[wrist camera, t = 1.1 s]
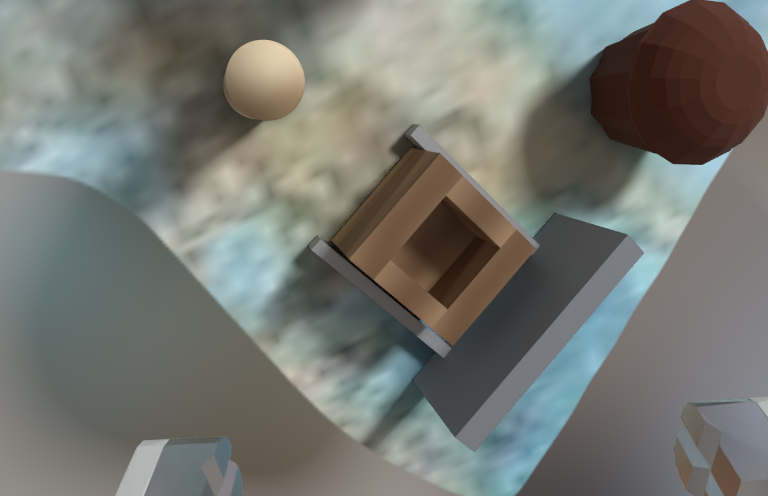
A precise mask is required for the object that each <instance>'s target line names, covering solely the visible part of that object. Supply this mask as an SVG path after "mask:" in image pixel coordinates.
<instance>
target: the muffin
mask: <svg viewBox="0 0 768 496" xmlns="http://www.w3.org/2000/svg"><path fill="white" fill-rule="evenodd" d="M590 86H591V94H592V108H591V115H592V116H593V117H594V118H595V119H596V120H597V121H598V122H599V123H600V124H601V125H602V127H603V129H604V130H605V132H606V133H607V135H608V137H609V138H610V139H612V140H615V141H618V142H621V143H624V144H627V145H630V146H633V147H637V148H640V149H643V150H646V151H649V152H652V153H656V154H658V155H660V156H662V157H663V158H665V159H666V160H668V161H669V162H671V163H672V164H690V165H703V164H705V163H707V162H709V161H711V160H713V159H715V158H717V157H719V156H721V155H723V154H724V153H726V152H728V151H730V150H731V149H732V148H734V147H735V146H737V145H739V144H740V143H742V142H743V140H744V139H745V138H746V137H747V136H748V135H749V134H750V132H751V131H752V130H753V129H754V127H755V126H756V125H757V124H758V123H759V121H760V120H761V119H762V118H763V116H764V114H765V111H766V108H767V105H768V51H767V49H766V47H765V44H764V42H763V40H762V38H761V36H760V34H759V33H758V32H757V31H756V30H755V29H754V28H753V27H752V26H750V25H749V23H748V22H747V21H746V20H745V19H743V18H742V17H741V16H740V15H738V14H737V13H736V12H735V11H734V10H732V9H731V8H730V7H729V6H728V5H726V4H725V3H723V2H715V1H707V0H690V1H687V2H685V3H683V4H681V5H679V6H676V7H674V8H672V9H670V10H668V11H665V12H663V13H662V14H661V16H660V17H659V18H658V19H657V20H656V22H655V23H653V24H650V25H648V26H646V27H643V28H641V29H639V30H637V31H634V32H633V33H631V34H630V35H628V36H627V37H625V38H624V39H623V40H621V41H619V42H617V43H614V44H612V45H609V46H607V47H606V48H605V51H604V53H603V55H602V58H601V60H600V63H599V65H598V66H597V68H596V69H595V71H594V73H593V74H592V76H591V77H590Z"/></svg>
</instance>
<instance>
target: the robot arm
mask: <svg viewBox="0 0 768 496" xmlns="http://www.w3.org/2000/svg"><path fill="white" fill-rule="evenodd" d="M681 419H682V421H683V423H684V425H685V427H686V428H685V429H684V430H683V431H681V432H680V433H679V434H678V435H677V437H676V443H675V448H674V451H675V460H676V466H677V469H678V472H679V475H680V478H681V480H682V482H683V484H684V486H685V488H686V490H687V491H688V492H689V493H691V494H692V495H694V496H768V397H758V398H748V399H745V398H740V399H728V400H716V401H705V402H692V403H687V404H686V406H685V407H684V408H683V411H682V415H681ZM231 452H232V448H231V445H230V443H229V441H228V438H227V437H201V438H179V439H164V440H144V441H143V442H142V443H141V444H140V445H139V446H138V447H137V448H136V450H135V452H134V454H133V457H132V459H131V461H130V463H129V465H128V467H127V470H126V472H125V474H124V477H123V479H122V481H121V483H120V485H119V487H118V490H117V492H116V494H115V496H242V491H243V484H242V477H241V473H240V470H239V467H238V465H237V464H235V463H234V462H232V461H231V460H229V459H230V455H231Z"/></svg>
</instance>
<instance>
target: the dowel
mask: <svg viewBox="0 0 768 496" xmlns="http://www.w3.org/2000/svg"><path fill="white" fill-rule="evenodd" d="M304 86H305V78H304V72H303V69H302V66H301V64H300V62H299V61H298V59H297V57H296V56H295V55H294V54H293V53H292V52H291V51H290V50H289V49H288V48H287V47H285V46H283V45H282V44H280V43H277V42H274V41H271V40H255V41H251V42H249V43H246V44H245V45H243V46H241V47H240V48H239V49H238V50H237V51H236V52H235V53H234V54H233V55H232V57H231V59H230V61H229V63H228V66H227V69H226V73H225V76H224V80H223V92H224V96H225V99H226V101H227V103H228V104H229V106H230V107H231V108H232V109H233V110H234V111H235V112H237V113H238V114H240V115H242V116H244V117H247V118H252V119H258V120H265V121H269V120H277V119H280V118H282V117H285V116H286V115H288V114H289V113H291V112H292V111H293V110H294V109H295V108H296V107H297V105H298V104H299V102H300V100H301V98H302V96H303V92H304Z"/></svg>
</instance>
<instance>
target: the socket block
mask: <svg viewBox="0 0 768 496" xmlns="http://www.w3.org/2000/svg"><path fill="white" fill-rule="evenodd" d="M332 241H333V243H334V244H335V245H336V246H337V247H338V248H339V249H340V250H341V251H342V252H343V253H344V255H345V256H346V257H347V258H348V259H349V260H350V261H352V262H353V263H354V264H355V265H356V266H357V267H359V268H360V269H361V270H362V271H363V272H365V273H366V274H367V275H368V276H369V277H371V278H372V279H373V280H374V281H375V282H377V283H378V284H379V285H380V286H381V287H383V288H384V289H385V290H386V291H387V292H389V293H390V294H391V295H392V296H393V297H395V298H396V299H397V300H398V301H399V302H401V303H402V304H403V305H404V306H405V307H407V308H408V309H409V310H410V311H411V312H413V313H414V314H415V315H416V316H417V317H419V318H420V319H421V320H422V321H423V322H425V323H426V324H427V325H428V326H429V327H431V328H432V329H433V330H434V331H435V332H437V333H438V334H439V335H440V336H441V337H443V338H444V339H445V340H446V341H447V342H449V343H450V344H451V345H452V346H453V345H454V344H455V343H456V342H457V341H458V340H459V338H460V337H461V336H462V335H463V334H464V333H465V331H466V330H467V329H468V328H469V327H470V326H471V324H472V323H473V322H474V321H475V320H476V318H477V317H478V316H479V315H480V314H481V313H482V311H483V310H484V309H485V308H486V307H487V306H488V304H489V303H490V302H491V301H492V300H493V299H494V297H495V296H496V295H497V294H498V293H499V292H500V290H501V289H502V288H503V287H504V286H505V285H506V283H507V282H508V281H509V280H510V279H511V278H512V276H513V275H514V274H515V273H516V272H517V271H518V269H519V268H520V267H521V266H522V265H523V264H524V262H525V261H526V260H527V259H528V258H529V257H530V255H531V254H532V253H533V252H534V251H535V250H536V248H535V247H534V246H533V245H532V244H531V243H530V242H529V241H528V240H527V239H526V238H525V237H524V236H523V235H522V234H521V233H520V232H519V231H518V230H517V229H516V228H515V227H514V226H513V225H512V224H511V223H510V222H509V221H508V220H507V219H506V218H505V217H504V216H503V215H502V214H501V213H500V212H499V211H498V210H497V209H496V208H495V207H494V206H493V205H492V204H491V203H490V202H489V201H488V200H487V199H486V198H485V197H484V196H483V195H482V194H481V193H480V192H479V191H478V190H477V189H476V188H475V187H474V186H473V185H472V184H471V183H470V182H469V181H468V180H467V179H466V178H465V177H464V176H463V175H462V174H461V173H460V172H459V171H458V170H457V169H456V168H455V167H454V166H453V165H452V164H451V163H450V162H449V161H448V160H447V159H446V158H445V157H444V156H443V155H442V154H441V153H437V152H431V151H425V150H420V149H414V148H410V149H409V151H408V152H407V153H406V154H405V155H404V156H403V158H402V159H401V160H400V161H399V162H398V163H397V165H396V166H395V167H394V168H393V169H392V170H391V171H390V173H389V174H388V175H387V176H386V177H385V178H384V180H383V181H382V182H381V183H380V184H379V185H378V187H377V188H376V189H375V190H374V191H373V192H372V194H371V195H370V196H369V197H368V198H367V199H366V200H365V202H364V203H363V204H362V205H361V206H360V207H359V209H358V210H357V211H356V212H355V213H354V214H353V216H352V217H351V218H350V219H349V220H348V221H347V222H346V224H345V225H344V226H343V227H342V228H341V229H340V231H339V232H338V233H337V234H336V235H335V236H334V238H333V239H332Z"/></svg>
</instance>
